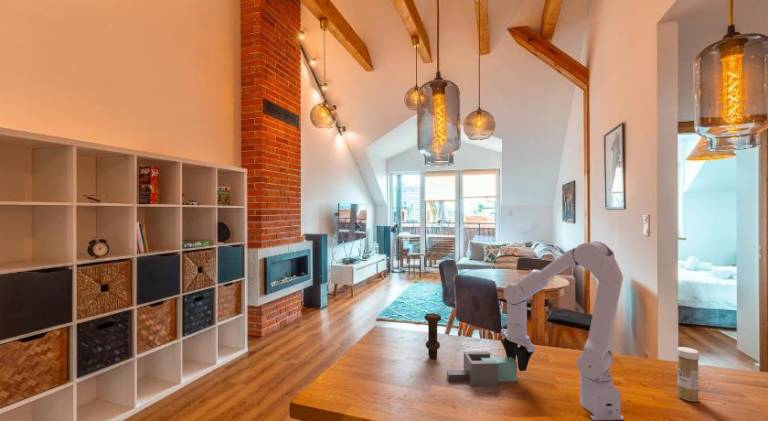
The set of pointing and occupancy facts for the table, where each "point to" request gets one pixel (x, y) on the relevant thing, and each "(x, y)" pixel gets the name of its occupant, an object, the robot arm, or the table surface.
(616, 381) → the table surface
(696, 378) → the sprinkles bottle
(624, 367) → the table surface
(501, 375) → the plug
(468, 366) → the header
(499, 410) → the table surface
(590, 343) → the robot arm
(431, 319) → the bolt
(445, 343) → the table surface
